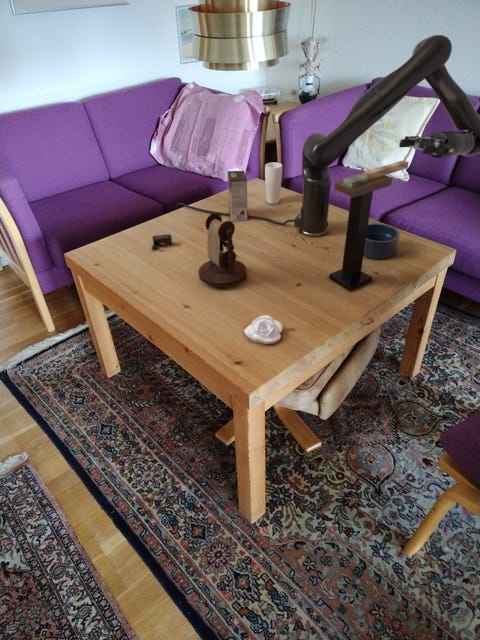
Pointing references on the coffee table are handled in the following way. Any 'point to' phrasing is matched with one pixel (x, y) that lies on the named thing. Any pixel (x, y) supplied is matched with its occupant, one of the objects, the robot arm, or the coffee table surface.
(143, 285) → the coffee table surface
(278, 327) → the rose
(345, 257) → the headphone stand
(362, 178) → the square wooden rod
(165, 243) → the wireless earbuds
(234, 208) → the coffee box
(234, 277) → the scroll
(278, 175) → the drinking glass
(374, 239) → the bowl
